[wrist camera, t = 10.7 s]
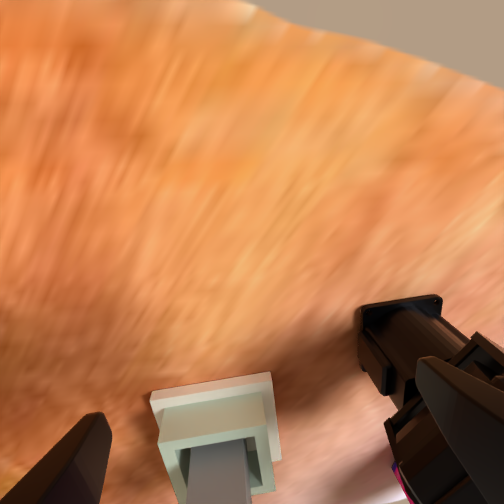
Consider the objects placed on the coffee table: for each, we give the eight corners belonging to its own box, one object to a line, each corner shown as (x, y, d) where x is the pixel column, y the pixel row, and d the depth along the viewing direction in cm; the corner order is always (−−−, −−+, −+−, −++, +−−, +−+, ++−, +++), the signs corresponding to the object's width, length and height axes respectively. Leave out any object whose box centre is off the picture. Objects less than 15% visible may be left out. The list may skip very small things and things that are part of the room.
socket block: (270, 371, 25) (278, 412, 21) (279, 449, 29) (288, 496, 25) (152, 391, 24) (139, 436, 21) (177, 467, 28) (171, 517, 24)
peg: (240, 412, 25) (251, 576, 16) (246, 444, 26) (260, 610, 17) (194, 421, 25) (177, 591, 16) (203, 452, 26) (192, 624, 17)
